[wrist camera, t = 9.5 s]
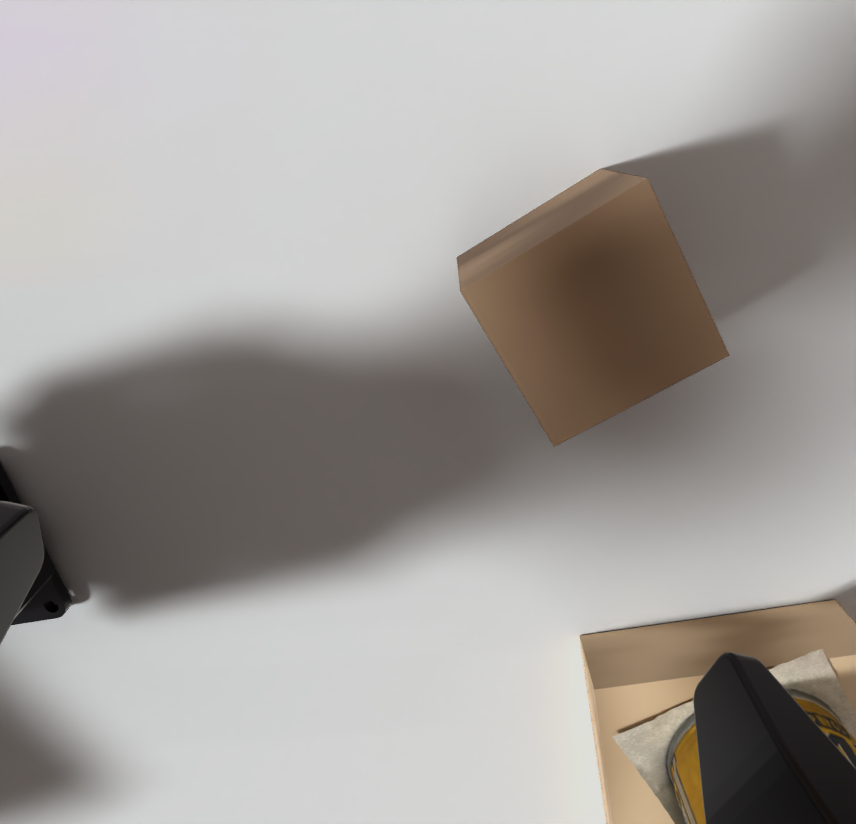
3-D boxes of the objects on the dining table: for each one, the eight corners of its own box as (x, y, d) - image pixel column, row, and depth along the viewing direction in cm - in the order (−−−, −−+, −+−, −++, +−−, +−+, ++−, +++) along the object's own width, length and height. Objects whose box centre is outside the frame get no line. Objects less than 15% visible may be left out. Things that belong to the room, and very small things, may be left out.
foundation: (614, 876, 29) (650, 1032, 24) (579, 636, 24) (616, 771, 19) (822, 854, 28) (906, 1012, 23) (835, 599, 23) (947, 732, 18)
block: (531, 382, 20) (554, 447, 16) (456, 256, 18) (460, 291, 14) (667, 307, 19) (729, 355, 15) (599, 168, 17) (647, 178, 13)
